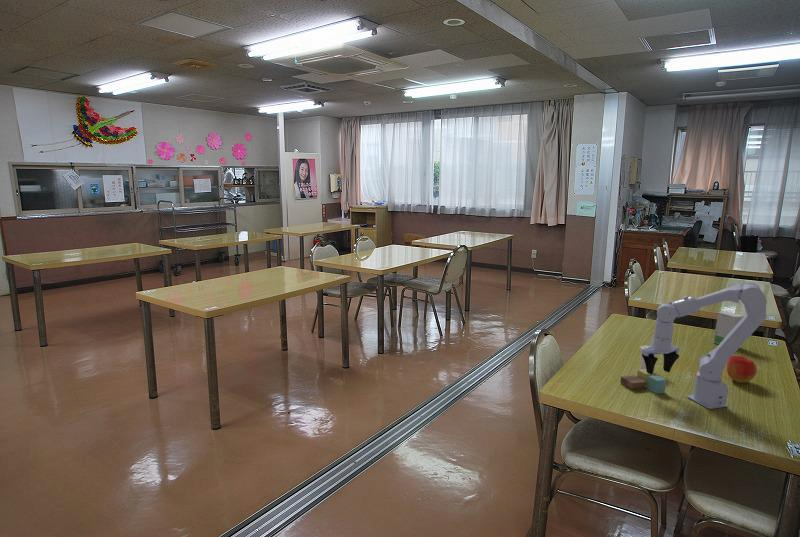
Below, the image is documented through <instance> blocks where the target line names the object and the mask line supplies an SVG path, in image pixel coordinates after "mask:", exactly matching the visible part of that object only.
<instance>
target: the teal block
mask: <svg viewBox="0 0 800 537" xmlns="http://www.w3.org/2000/svg"><path fill="white" fill-rule="evenodd" d="M666 384H667V379H665V377H664V378H663V377H661V376H660V375H658V374H657V375H654V376H649V379H648V386H646V387H647V388H646V389H647V390H648V389H649V390H648V391H650V392H651V393H654V395H655V394H656V393H657V394H662V393H665V392H666ZM657 394H656V395H657Z"/></svg>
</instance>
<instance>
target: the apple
mask: <svg viewBox="0 0 800 537" xmlns="http://www.w3.org/2000/svg"><path fill="white" fill-rule="evenodd" d="M757 372H758V370H757V365H756V363H755V362H754V361H753V360H752V359H749V358H748V357H745V356H741V355H732V356H731V357H730V358H729V360H728V362H727V364H726V373H727V374H728V376H729V378H730V379H732V380H733V381H734V382H737V383H739V384H742V383H747V382H750V381H752V380H753V379H754V378H755V376H756V375H757Z"/></svg>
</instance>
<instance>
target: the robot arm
mask: <svg viewBox="0 0 800 537" xmlns="http://www.w3.org/2000/svg"><path fill="white" fill-rule="evenodd" d="M727 301H728V302H732V303H736V304H740V301H741V303H742V304H743V306H744V309H745V315H743V316H744V317H743V318H742V319H741V320H740V321H739V322H738V324H737V325H736V326H735V327H734V328H733V329H732V330H731V331H730V333H729V334H728V335H727V336H726V337H725V338H724V339H723V340H722V342H721V343H720V344H719V345H718V344H717V346H716V347H715V348H714V349H712V350H710V351H709V352H708V354H705V355H703V356H701V357H699V360H698V366H699V369H698V370H699V371H697V372H696V374H695V380H694V388H693V392H692V393H693V394H689V395H686V397H687V399H690V400H692V401H693V402H696V403H697V404H699V405H700V406H701V405H702V406H703V407H705V408H707V409H709V410H711V409H720V408H725V407H728V406H729V405H728V404H727V399H728V396H729V394H728V393H729V388H728V385H727V384H726V383H724V382H723V381H722V377H721V376H722V374H723V370H724V369H725V367H727V363H728V360H729V358H730V357H731V356H734V355H735V353H736V352H737V351H738V350H739V349H740V348H741V346H742V345H744V343H745V342H746V341H747V340H748V339H749V338H750V337H751V335H753V334H754V332H755V331H756V330H757V329H758V328H759V327H760V326H761V325H762V323H764V321H766V317H767V303H768V300H767V297H766V296H765V293H764V291H762V289H761V288H760V286H759V285H758V284H756V283H755V282H744V283H742V284H736V285H735V284H734V285H732V286H728V287H726V288H723V289H720V290H717V291H714V292H711V293H708V294H706V295H703V296H699V297H694V296H692V295H691V296H688V295H685V296H683V297H682V298H681V299H678V300H674V301H672V300H670V301H668V303H662V304H660V305H659V306H658V307H657V309H656V316H657V318H656V320H655V322H656V323H655V324H654V332H653V334H654V335H653V338H652V345H651V347H649V348H646V349H643V352H642V357H643V359H644V361H645V365H646V371H647V373H649V374H653V373H654V372H655V371H654V370H655V365H656V363H657V361H658V357H657V356H655V357H654V354H656V355H661V354H662V355H663V364H662V365H663V368H662V369H663V371H664V372H666V373H670V371H671V370H672V367H673V365H674V364H675V362H676V361H677V360H678V359H679V358H680V354H679V353H680V347H679V346H676V345H672V340H673V333H674V321H675V319H676V318H681V317H682V318H683V317H686V316H689V315H692V314H696V313H699V312H700V310H701V308H703V307H707V306H712V305H715V304H719V303H724V302H727Z"/></svg>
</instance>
